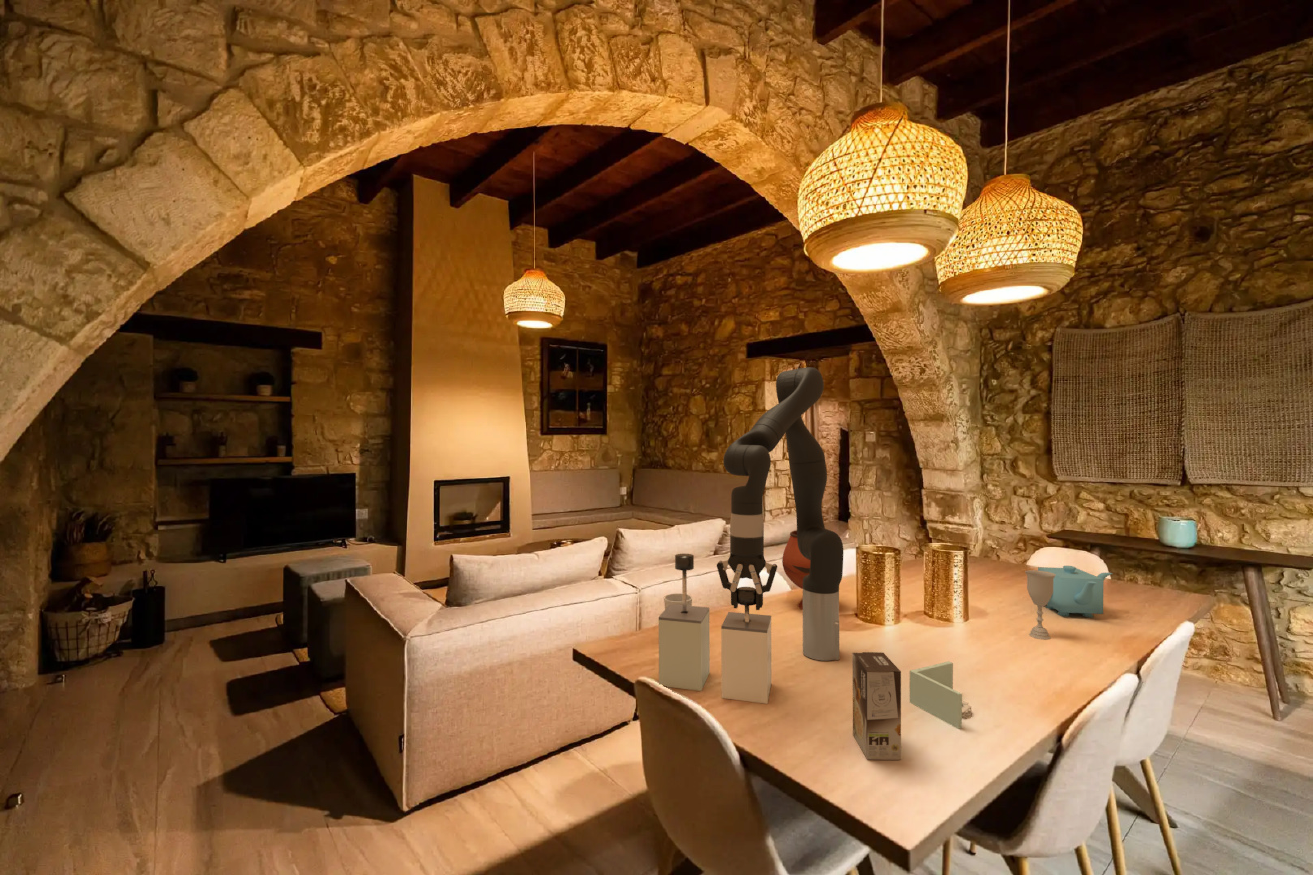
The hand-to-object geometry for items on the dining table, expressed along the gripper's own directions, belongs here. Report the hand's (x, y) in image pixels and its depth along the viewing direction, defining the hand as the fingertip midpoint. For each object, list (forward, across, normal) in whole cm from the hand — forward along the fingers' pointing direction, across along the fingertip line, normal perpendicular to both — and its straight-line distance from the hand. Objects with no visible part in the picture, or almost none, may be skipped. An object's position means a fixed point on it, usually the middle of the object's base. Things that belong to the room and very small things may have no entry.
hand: (746, 607), depth 129 cm
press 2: (+19, 0, 0) cm, 19 cm away
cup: (+19, +23, -26) cm, 39 cm away
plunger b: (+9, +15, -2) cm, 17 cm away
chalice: (+19, -76, -56) cm, 96 cm away
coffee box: (+19, -26, +16) cm, 36 cm away
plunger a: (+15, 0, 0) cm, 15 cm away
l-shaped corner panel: (+20, -43, -4) cm, 47 cm away
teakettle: (+19, -93, -82) cm, 125 cm away
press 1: (+19, +15, -2) cm, 24 cm away
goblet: (+19, -13, -65) cm, 69 cm away
